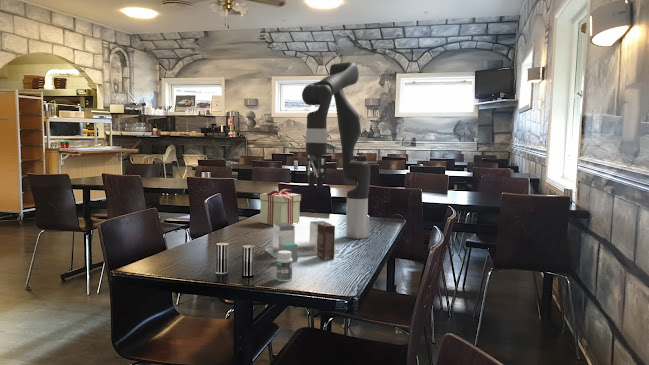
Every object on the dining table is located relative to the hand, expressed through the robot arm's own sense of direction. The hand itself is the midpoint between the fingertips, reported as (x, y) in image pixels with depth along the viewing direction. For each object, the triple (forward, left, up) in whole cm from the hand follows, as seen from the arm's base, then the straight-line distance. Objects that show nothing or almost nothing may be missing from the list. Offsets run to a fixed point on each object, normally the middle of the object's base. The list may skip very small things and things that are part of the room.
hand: (315, 187), depth 171 cm
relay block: (+11, +4, -25) cm, 28 cm away
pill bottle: (+19, +25, -25) cm, 41 cm away
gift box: (-11, -72, -25) cm, 77 cm away
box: (-3, +4, -25) cm, 26 cm away
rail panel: (+2, -8, -25) cm, 26 cm away
